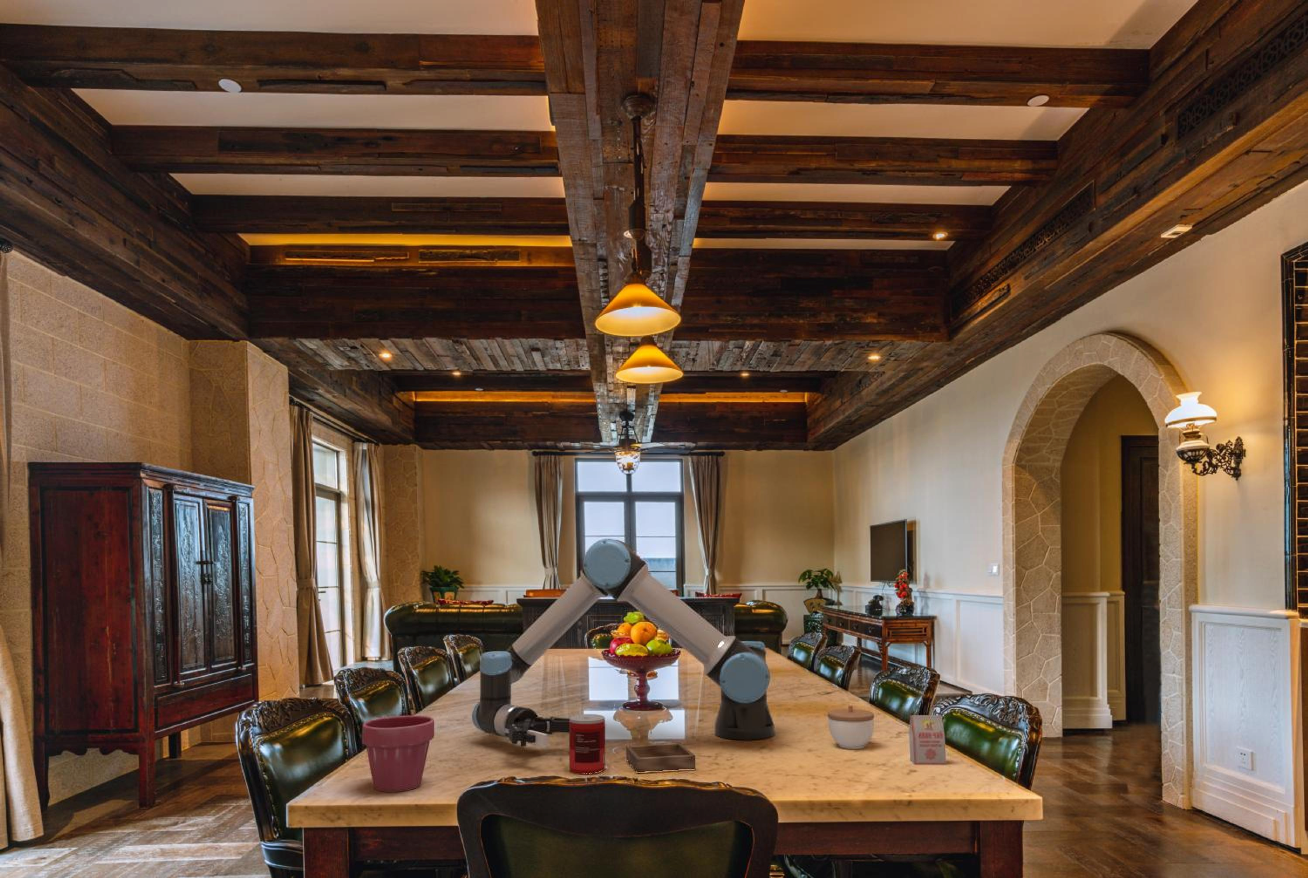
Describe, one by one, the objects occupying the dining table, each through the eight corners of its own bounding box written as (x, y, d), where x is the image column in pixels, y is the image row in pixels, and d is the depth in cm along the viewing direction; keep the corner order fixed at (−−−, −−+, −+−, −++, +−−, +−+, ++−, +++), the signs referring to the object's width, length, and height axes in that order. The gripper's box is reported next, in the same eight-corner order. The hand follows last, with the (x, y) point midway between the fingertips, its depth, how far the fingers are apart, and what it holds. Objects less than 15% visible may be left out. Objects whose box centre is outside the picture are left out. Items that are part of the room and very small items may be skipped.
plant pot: (370, 778, 184) (372, 715, 186) (438, 776, 185) (440, 713, 187) (352, 797, 170) (354, 728, 172) (426, 794, 171) (427, 726, 173)
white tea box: (910, 760, 194) (908, 713, 195) (941, 760, 194) (939, 713, 195) (914, 764, 190) (912, 716, 192) (946, 764, 190) (943, 716, 191)
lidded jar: (837, 739, 216) (836, 700, 217) (880, 744, 210) (879, 703, 212) (822, 748, 207) (821, 707, 208) (867, 753, 201) (865, 711, 202)
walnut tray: (680, 756, 200) (680, 743, 200) (695, 770, 188) (695, 755, 188) (626, 760, 197) (626, 746, 198) (637, 774, 185) (637, 759, 185)
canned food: (590, 763, 194) (590, 712, 196) (612, 770, 188) (612, 717, 190) (561, 769, 190) (562, 716, 191) (583, 776, 183) (583, 722, 185)
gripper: (560, 731, 216) (615, 745, 201) (470, 747, 200) (523, 763, 184) (560, 700, 217) (615, 711, 202) (471, 713, 201) (523, 726, 185)
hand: (571, 736), depth 193 cm, fingers open, 13 cm apart
